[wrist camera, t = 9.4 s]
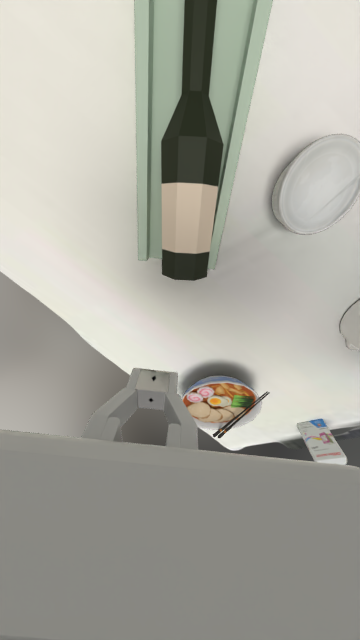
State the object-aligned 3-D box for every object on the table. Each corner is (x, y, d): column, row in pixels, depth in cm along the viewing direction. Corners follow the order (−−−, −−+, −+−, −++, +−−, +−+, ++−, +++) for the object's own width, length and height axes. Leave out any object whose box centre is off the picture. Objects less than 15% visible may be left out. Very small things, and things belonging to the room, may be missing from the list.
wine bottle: (152, 274, 30) (138, -95, 14) (174, 264, 37) (181, 3, 21) (198, 284, 27) (246, -162, 11) (213, 270, 34) (256, -25, 18)
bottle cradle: (269, -11, 19) (283, -51, 16) (212, 264, 35) (214, 269, 32) (141, -33, 19) (133, -78, 16) (142, 255, 35) (138, 260, 32)
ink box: (322, 418, 62) (348, 458, 52) (323, 424, 65) (348, 464, 55) (296, 423, 65) (316, 462, 55) (298, 429, 67) (317, 468, 57)
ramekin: (313, 236, 32) (334, 240, 28) (254, 225, 32) (266, 227, 27) (356, 154, 26) (391, 143, 22) (284, 139, 26) (305, 124, 21)
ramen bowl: (204, 346, 47) (207, 370, 40) (272, 374, 52) (285, 400, 45) (166, 397, 59) (163, 421, 52) (224, 416, 64) (228, 441, 57)
